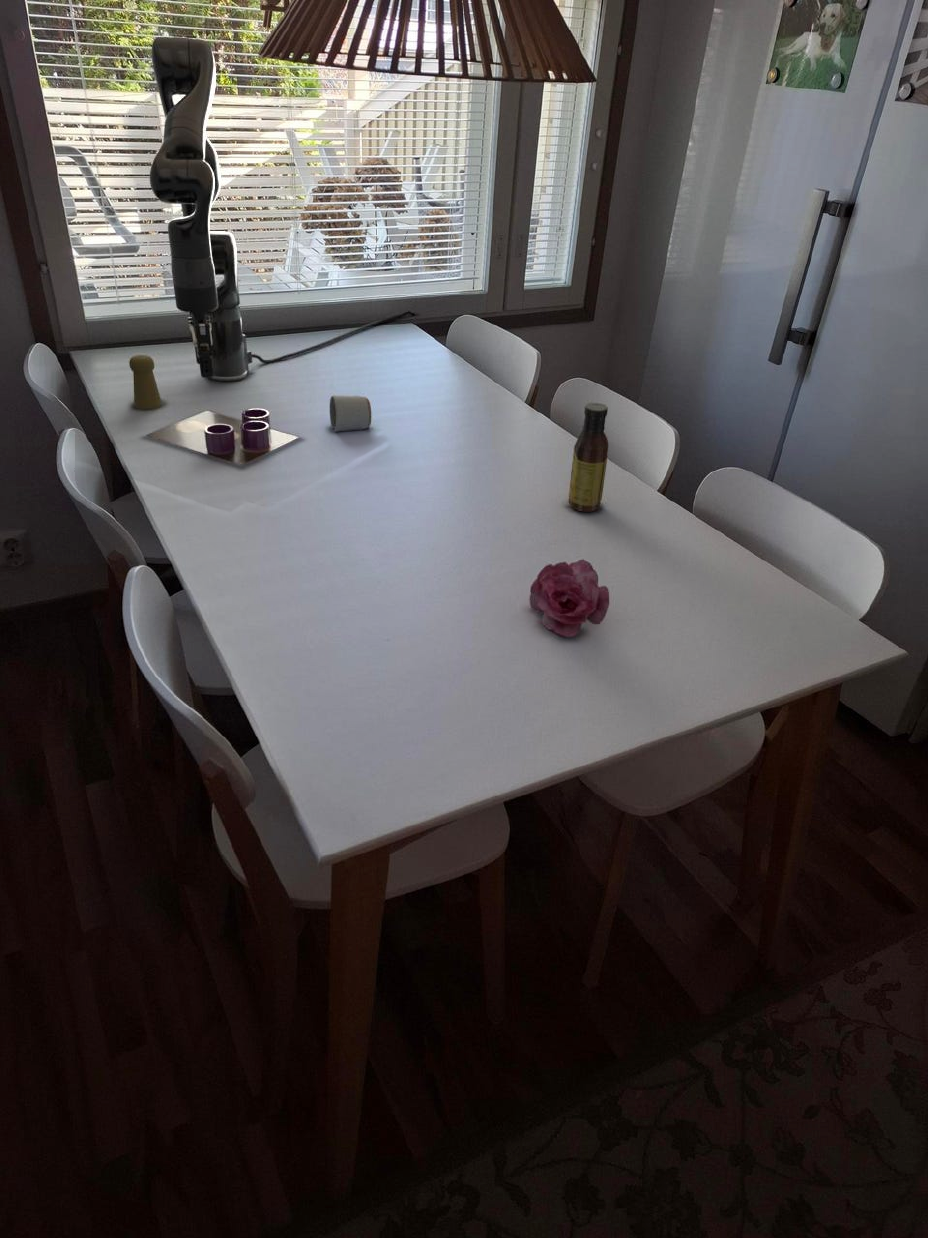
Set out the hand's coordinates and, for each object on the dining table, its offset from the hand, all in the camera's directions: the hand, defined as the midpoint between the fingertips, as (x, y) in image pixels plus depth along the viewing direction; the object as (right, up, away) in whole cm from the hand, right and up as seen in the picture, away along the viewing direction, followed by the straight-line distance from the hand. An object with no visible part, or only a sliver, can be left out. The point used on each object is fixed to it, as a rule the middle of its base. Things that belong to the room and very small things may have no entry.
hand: (204, 369), depth 165 cm
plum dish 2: (+6, -8, +17) cm, 20 cm away
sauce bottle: (+73, -27, -3) cm, 78 cm away
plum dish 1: (0, -14, +9) cm, 16 cm away
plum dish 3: (+7, -12, +12) cm, 18 cm away
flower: (+65, -49, -36) cm, 89 cm away
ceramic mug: (+24, -6, +24) cm, 35 cm away
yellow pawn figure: (-22, 0, +29) cm, 37 cm away
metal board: (-1, -10, +15) cm, 18 cm away
